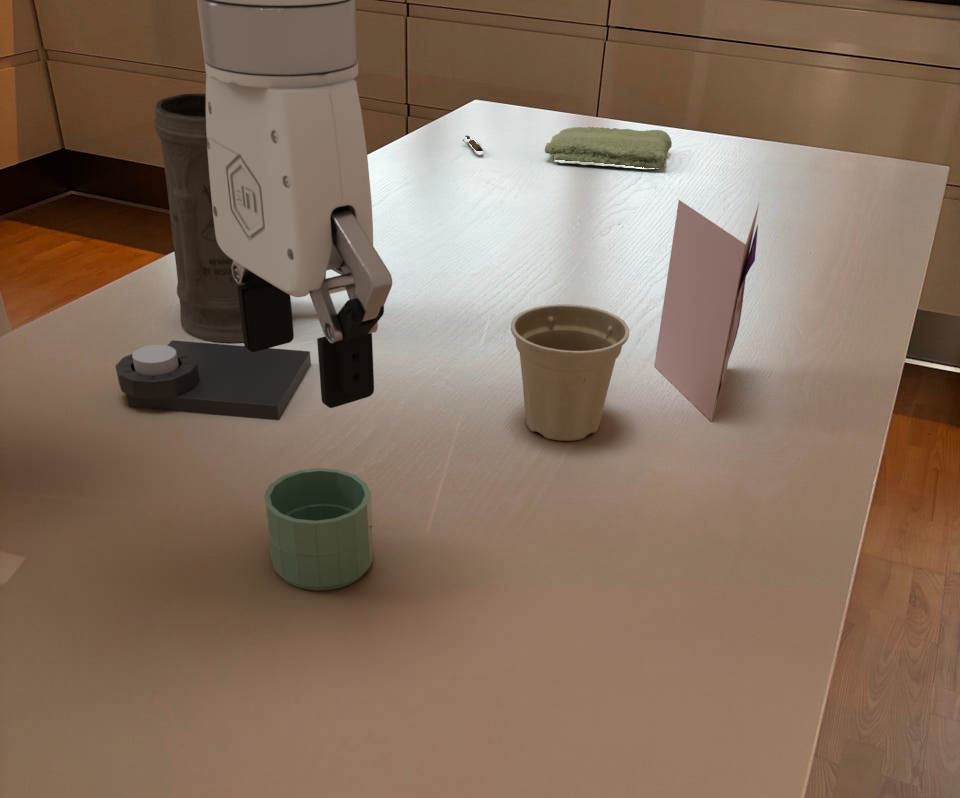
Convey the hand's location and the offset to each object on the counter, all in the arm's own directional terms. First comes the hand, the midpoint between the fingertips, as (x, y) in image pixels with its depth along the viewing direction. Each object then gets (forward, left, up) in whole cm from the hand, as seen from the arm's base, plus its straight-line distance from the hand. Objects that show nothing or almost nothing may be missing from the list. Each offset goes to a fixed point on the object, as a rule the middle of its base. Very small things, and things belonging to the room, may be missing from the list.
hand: (307, 370), depth 61 cm
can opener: (-3, +108, -14) cm, 109 cm away
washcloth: (+17, +108, -14) cm, 110 cm away
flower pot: (+15, +23, -14) cm, 31 cm away
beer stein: (-16, +40, -14) cm, 45 cm away
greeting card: (+26, +32, -14) cm, 44 cm away
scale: (-15, +25, -14) cm, 32 cm away
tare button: (-20, +22, -11) cm, 32 cm away
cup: (0, 0, -14) cm, 14 cm away
